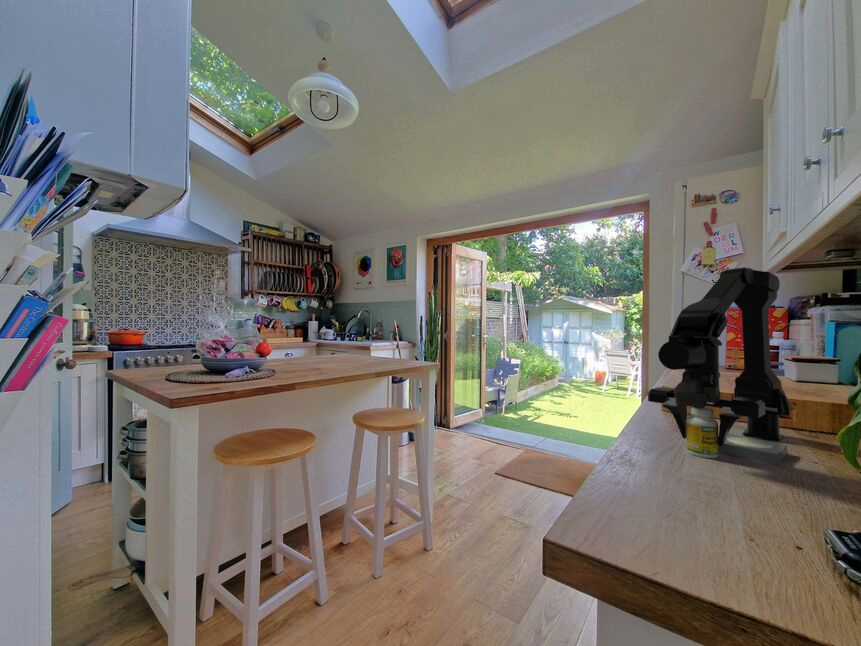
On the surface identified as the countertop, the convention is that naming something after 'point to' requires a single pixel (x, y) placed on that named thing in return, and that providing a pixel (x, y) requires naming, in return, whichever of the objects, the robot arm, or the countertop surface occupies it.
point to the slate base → (754, 449)
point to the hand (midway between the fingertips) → (702, 441)
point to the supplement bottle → (702, 433)
